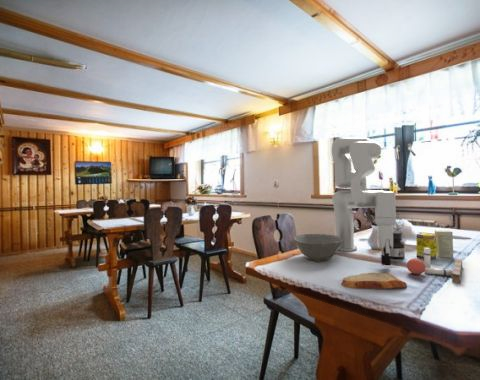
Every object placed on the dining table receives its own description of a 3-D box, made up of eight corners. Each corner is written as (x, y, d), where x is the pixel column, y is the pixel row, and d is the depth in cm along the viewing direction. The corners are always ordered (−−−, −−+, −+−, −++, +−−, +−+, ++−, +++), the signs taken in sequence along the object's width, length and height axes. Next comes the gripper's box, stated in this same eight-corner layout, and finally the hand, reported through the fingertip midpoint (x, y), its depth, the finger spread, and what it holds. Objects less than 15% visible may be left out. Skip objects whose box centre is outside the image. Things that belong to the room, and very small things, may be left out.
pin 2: (424, 274, 106) (451, 276, 102) (425, 273, 104) (452, 275, 100) (423, 267, 107) (450, 270, 103) (424, 267, 105) (452, 269, 101)
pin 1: (424, 269, 110) (424, 248, 110) (423, 267, 112) (423, 247, 112) (431, 270, 109) (431, 249, 109) (429, 268, 111) (429, 247, 111)
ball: (427, 277, 102) (412, 275, 108) (430, 262, 104) (415, 261, 109) (416, 271, 100) (401, 269, 106) (419, 256, 102) (404, 255, 108)
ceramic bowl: (284, 260, 128) (284, 239, 128) (308, 250, 145) (308, 232, 145) (329, 269, 113) (329, 245, 113) (350, 257, 130) (350, 236, 130)
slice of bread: (337, 286, 96) (337, 275, 96) (359, 273, 108) (359, 264, 108) (392, 301, 83) (392, 289, 83) (410, 285, 95) (410, 274, 95)
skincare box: (451, 255, 129) (450, 230, 128) (453, 258, 125) (453, 231, 124) (434, 254, 131) (434, 229, 131) (436, 256, 127) (436, 231, 127)
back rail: (459, 283, 94) (459, 274, 94) (452, 282, 96) (452, 273, 96) (462, 266, 112) (462, 259, 112) (455, 265, 114) (455, 258, 114)
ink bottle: (392, 260, 124) (392, 234, 124) (378, 255, 132) (378, 231, 132) (410, 258, 126) (409, 232, 126) (395, 253, 135) (394, 229, 134)
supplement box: (429, 259, 123) (429, 236, 123) (416, 256, 128) (415, 234, 128) (437, 257, 126) (436, 234, 126) (423, 255, 131) (423, 232, 131)
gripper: (373, 218, 121) (374, 259, 121) (377, 223, 107) (378, 269, 107) (392, 218, 118) (393, 260, 118) (399, 223, 104) (399, 271, 104)
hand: (385, 264), depth 113 cm, fingers closed
